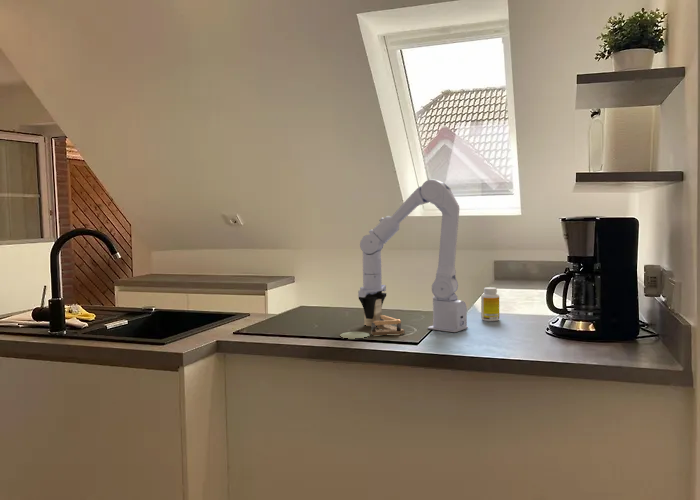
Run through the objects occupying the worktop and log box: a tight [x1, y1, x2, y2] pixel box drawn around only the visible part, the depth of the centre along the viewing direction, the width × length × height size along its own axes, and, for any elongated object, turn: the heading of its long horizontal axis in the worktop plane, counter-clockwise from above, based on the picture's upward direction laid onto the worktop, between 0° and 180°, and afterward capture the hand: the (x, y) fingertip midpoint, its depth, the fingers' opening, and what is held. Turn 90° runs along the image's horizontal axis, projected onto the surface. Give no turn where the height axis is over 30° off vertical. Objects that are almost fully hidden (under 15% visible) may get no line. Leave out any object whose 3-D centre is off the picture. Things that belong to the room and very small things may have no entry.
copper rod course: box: [370, 314, 405, 336], centre depth 170 cm, size 12×12×4 cm
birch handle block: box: [363, 299, 383, 327], centre depth 181 cm, size 4×4×8 cm
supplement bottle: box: [480, 286, 500, 322], centre depth 185 cm, size 6×6×10 cm
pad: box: [339, 331, 370, 340], centre depth 166 cm, size 8×8×1 cm
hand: (373, 317), depth 181 cm, fingers closed on birch handle block, 4 cm apart
